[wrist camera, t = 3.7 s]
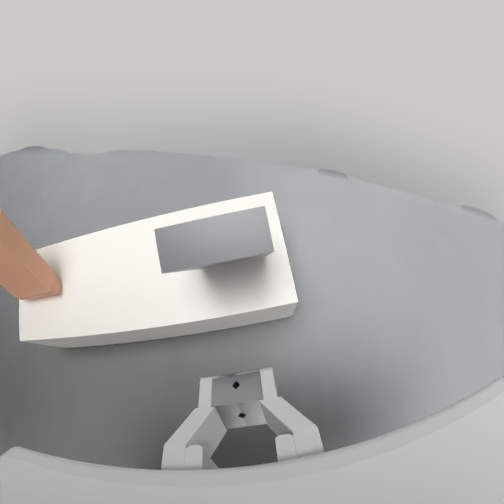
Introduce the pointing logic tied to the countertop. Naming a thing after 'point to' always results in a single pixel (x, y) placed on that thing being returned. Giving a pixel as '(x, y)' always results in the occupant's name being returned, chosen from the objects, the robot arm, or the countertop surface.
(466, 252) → the countertop surface
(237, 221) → the rocker charcoal
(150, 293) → the switch box
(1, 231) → the rocker terracotta
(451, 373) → the countertop surface
